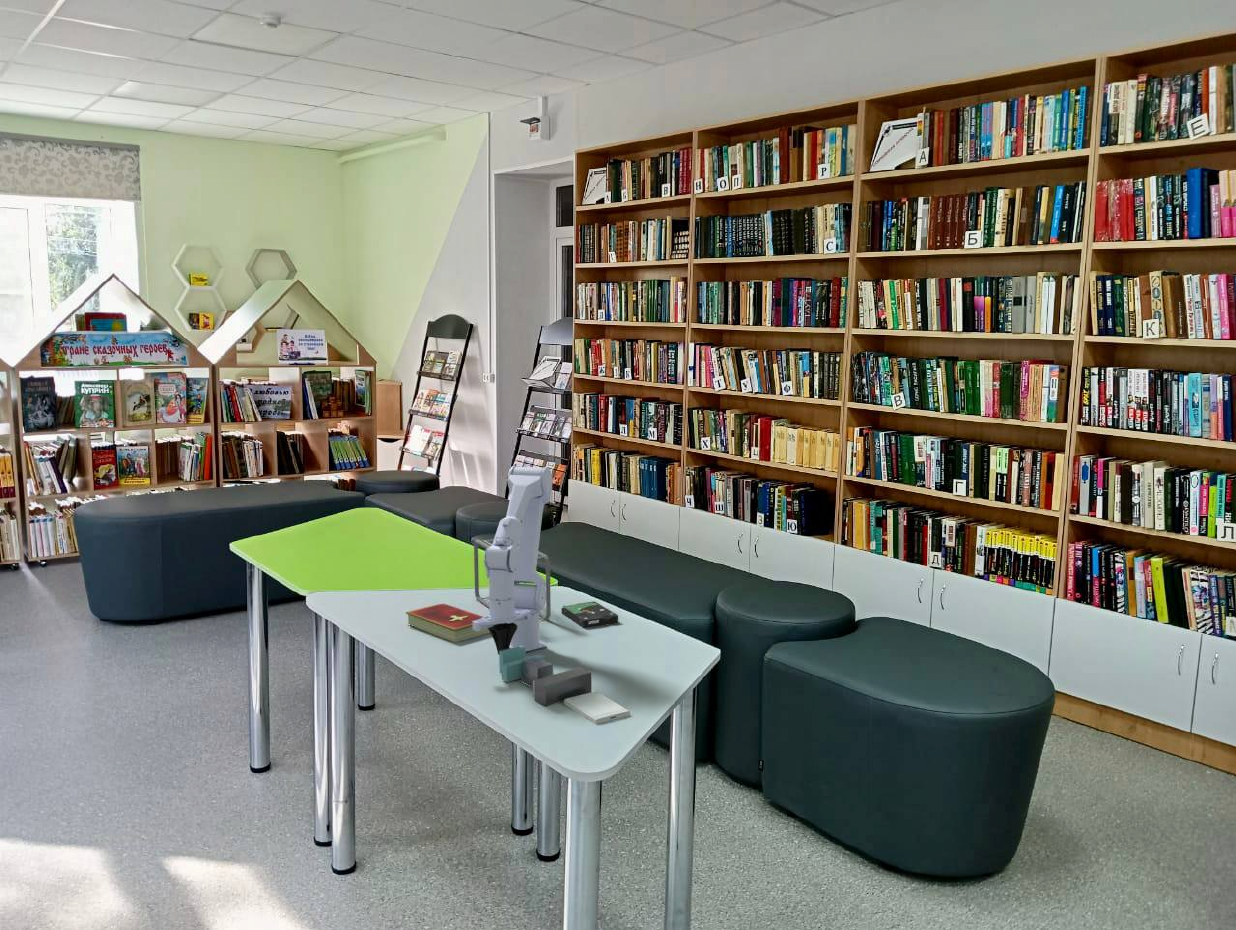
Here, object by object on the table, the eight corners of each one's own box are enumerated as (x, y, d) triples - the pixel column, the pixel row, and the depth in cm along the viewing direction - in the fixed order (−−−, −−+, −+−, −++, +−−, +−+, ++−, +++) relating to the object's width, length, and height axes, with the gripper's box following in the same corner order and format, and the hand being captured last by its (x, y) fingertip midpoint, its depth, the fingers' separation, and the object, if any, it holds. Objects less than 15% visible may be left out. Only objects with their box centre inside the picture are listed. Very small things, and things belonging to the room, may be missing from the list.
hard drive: (563, 698, 201) (595, 718, 191) (597, 690, 205) (630, 709, 195) (564, 706, 201) (595, 726, 191) (597, 698, 206) (630, 717, 195)
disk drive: (619, 625, 256) (594, 610, 269) (619, 615, 255) (594, 600, 268) (583, 630, 251) (560, 615, 264) (583, 620, 250) (560, 605, 263)
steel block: (522, 682, 213) (521, 661, 212) (537, 678, 216) (536, 657, 215) (538, 690, 209) (537, 668, 208) (553, 686, 211) (552, 664, 210)
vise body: (529, 697, 204) (528, 677, 204) (574, 684, 212) (574, 664, 211) (545, 706, 200) (545, 685, 199) (591, 692, 207) (591, 672, 207)
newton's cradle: (474, 599, 278) (473, 538, 275) (508, 594, 283) (507, 534, 280) (514, 627, 252) (513, 560, 249) (551, 621, 257) (550, 556, 254)
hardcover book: (443, 616, 262) (443, 601, 262) (492, 633, 248) (492, 618, 247) (406, 626, 254) (405, 611, 253) (454, 645, 239) (454, 628, 239)
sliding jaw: (492, 674, 217) (491, 653, 216) (529, 664, 223) (528, 643, 223) (506, 682, 212) (506, 660, 212) (544, 671, 219) (543, 650, 218)
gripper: (483, 607, 213) (485, 666, 215) (538, 595, 222) (538, 652, 224) (467, 600, 218) (468, 658, 220) (520, 588, 227) (521, 644, 229)
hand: (502, 654), depth 222 cm, fingers closed
